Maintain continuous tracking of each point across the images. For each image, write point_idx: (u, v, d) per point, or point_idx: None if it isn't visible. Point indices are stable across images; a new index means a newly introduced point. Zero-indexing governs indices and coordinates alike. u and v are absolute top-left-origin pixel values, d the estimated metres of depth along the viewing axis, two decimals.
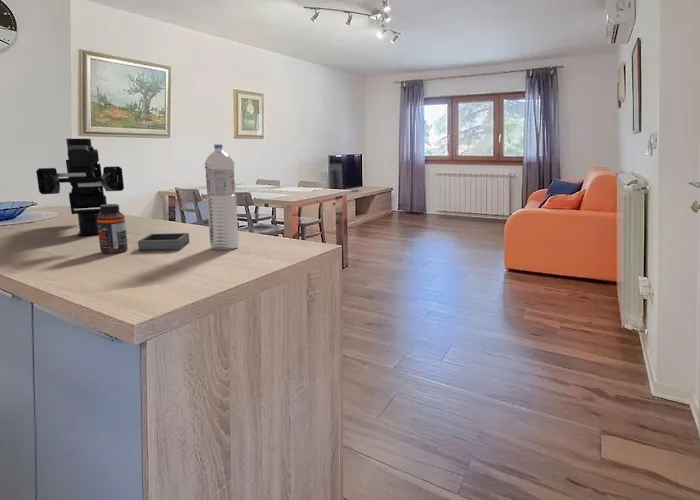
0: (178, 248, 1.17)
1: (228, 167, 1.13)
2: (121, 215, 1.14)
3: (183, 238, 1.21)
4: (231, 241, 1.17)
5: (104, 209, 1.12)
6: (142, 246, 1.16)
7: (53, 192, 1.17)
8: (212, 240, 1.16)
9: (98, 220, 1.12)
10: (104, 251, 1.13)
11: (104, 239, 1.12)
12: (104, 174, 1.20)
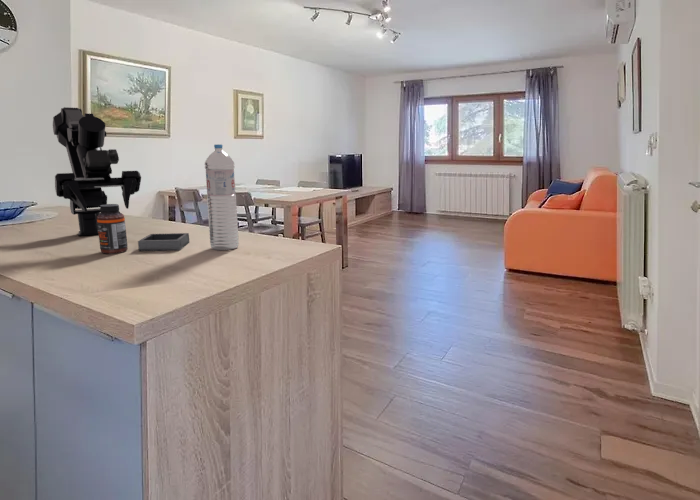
0: (178, 248, 1.17)
1: (228, 167, 1.13)
2: (121, 215, 1.14)
3: (183, 238, 1.21)
4: (231, 241, 1.17)
5: (104, 209, 1.12)
6: (142, 246, 1.16)
7: None
8: (212, 240, 1.16)
9: (98, 220, 1.12)
10: (104, 251, 1.13)
11: (104, 239, 1.12)
12: (126, 190, 1.20)
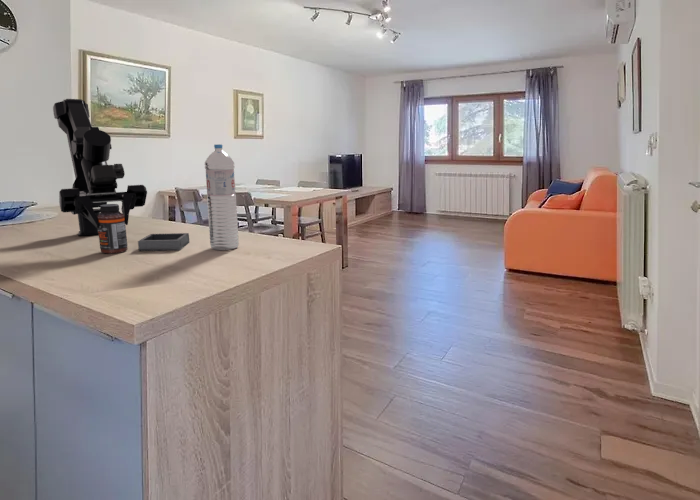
0: (178, 248, 1.17)
1: (228, 167, 1.13)
2: (121, 215, 1.14)
3: (183, 238, 1.21)
4: (231, 241, 1.17)
5: (104, 209, 1.12)
6: (142, 246, 1.16)
7: None
8: (212, 240, 1.16)
9: (98, 220, 1.12)
10: (104, 251, 1.13)
11: (104, 239, 1.12)
12: (125, 205, 1.17)
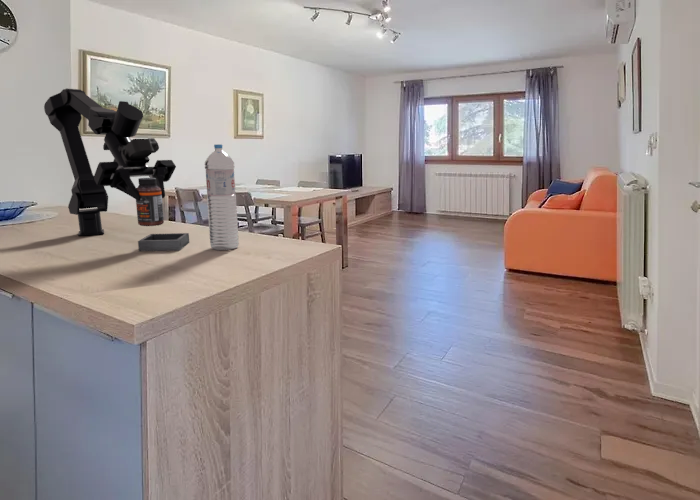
0: (178, 248, 1.17)
1: (228, 167, 1.13)
2: (159, 188, 1.17)
3: (183, 238, 1.21)
4: (231, 241, 1.17)
5: (145, 182, 1.14)
6: (142, 246, 1.16)
7: None
8: (212, 240, 1.16)
9: (139, 193, 1.14)
10: (145, 223, 1.15)
11: (146, 211, 1.15)
12: (159, 179, 1.19)
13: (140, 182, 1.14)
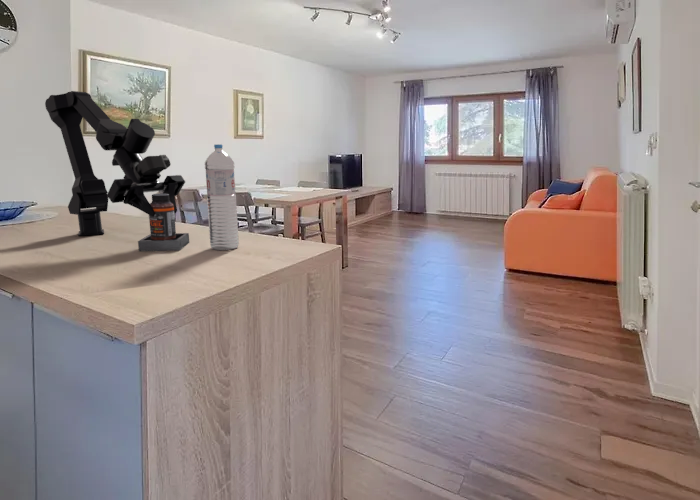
0: (178, 248, 1.17)
1: (228, 167, 1.13)
2: (172, 204, 1.20)
3: (183, 238, 1.21)
4: (231, 241, 1.17)
5: (159, 198, 1.17)
6: (142, 246, 1.16)
7: None
8: (212, 240, 1.16)
9: (153, 209, 1.16)
10: (158, 239, 1.18)
11: (160, 227, 1.17)
12: (171, 195, 1.22)
13: (154, 198, 1.17)
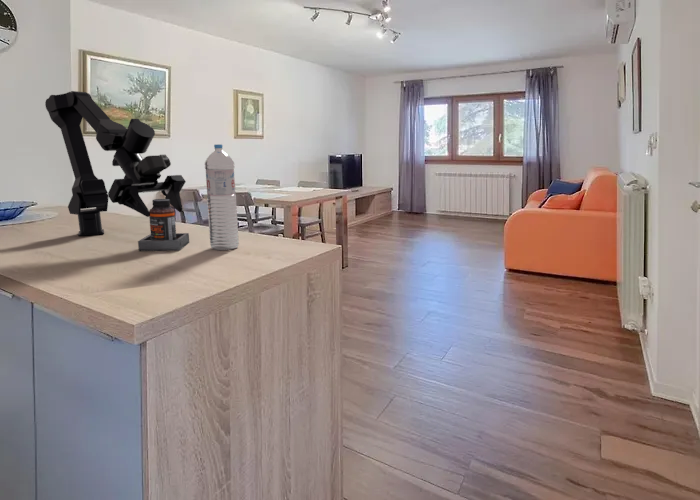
0: (178, 248, 1.17)
1: (228, 167, 1.13)
2: (173, 209, 1.20)
3: (183, 238, 1.21)
4: (231, 241, 1.17)
5: (160, 203, 1.17)
6: (142, 246, 1.16)
7: None
8: (212, 240, 1.16)
9: (153, 214, 1.17)
10: None
11: (160, 232, 1.18)
12: (176, 194, 1.23)
13: (155, 204, 1.17)
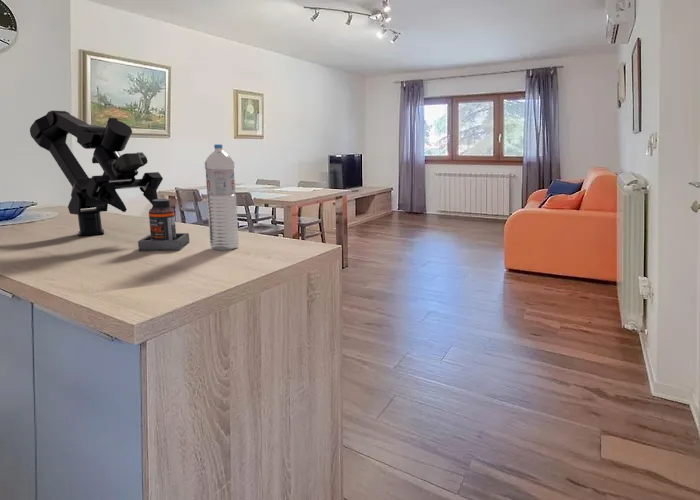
0: (178, 248, 1.17)
1: (228, 167, 1.13)
2: (173, 209, 1.20)
3: (183, 238, 1.21)
4: (231, 241, 1.17)
5: (159, 204, 1.17)
6: (142, 246, 1.16)
7: None
8: (212, 240, 1.16)
9: (153, 214, 1.17)
10: None
11: (160, 232, 1.17)
12: (153, 190, 1.28)
13: (154, 204, 1.17)
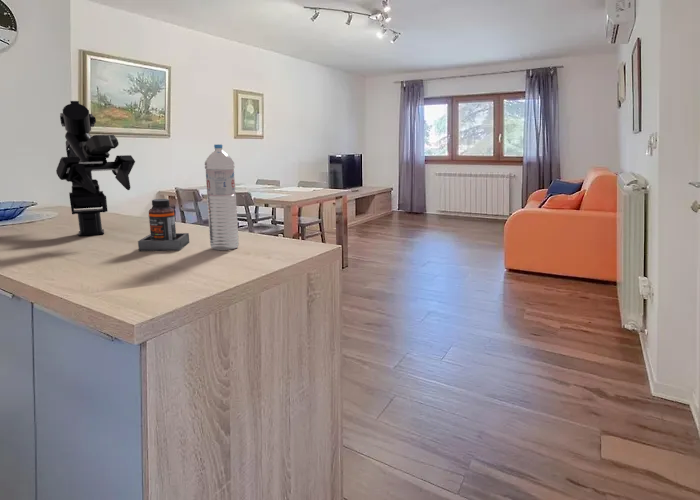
0: (178, 248, 1.17)
1: (228, 167, 1.13)
2: (172, 209, 1.20)
3: (183, 238, 1.21)
4: (231, 241, 1.17)
5: (159, 203, 1.17)
6: (142, 246, 1.16)
7: None
8: (212, 240, 1.16)
9: (153, 214, 1.17)
10: None
11: (160, 232, 1.17)
12: (125, 173, 1.29)
13: (154, 204, 1.17)
